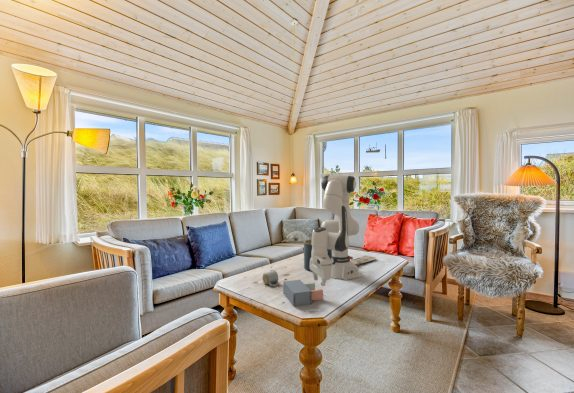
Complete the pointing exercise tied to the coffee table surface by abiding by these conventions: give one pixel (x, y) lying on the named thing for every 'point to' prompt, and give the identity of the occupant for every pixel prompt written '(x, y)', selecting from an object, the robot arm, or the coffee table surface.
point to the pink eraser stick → (317, 294)
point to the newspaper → (362, 260)
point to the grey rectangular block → (297, 292)
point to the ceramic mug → (270, 278)
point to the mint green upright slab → (310, 285)
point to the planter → (308, 254)
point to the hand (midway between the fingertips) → (319, 282)
